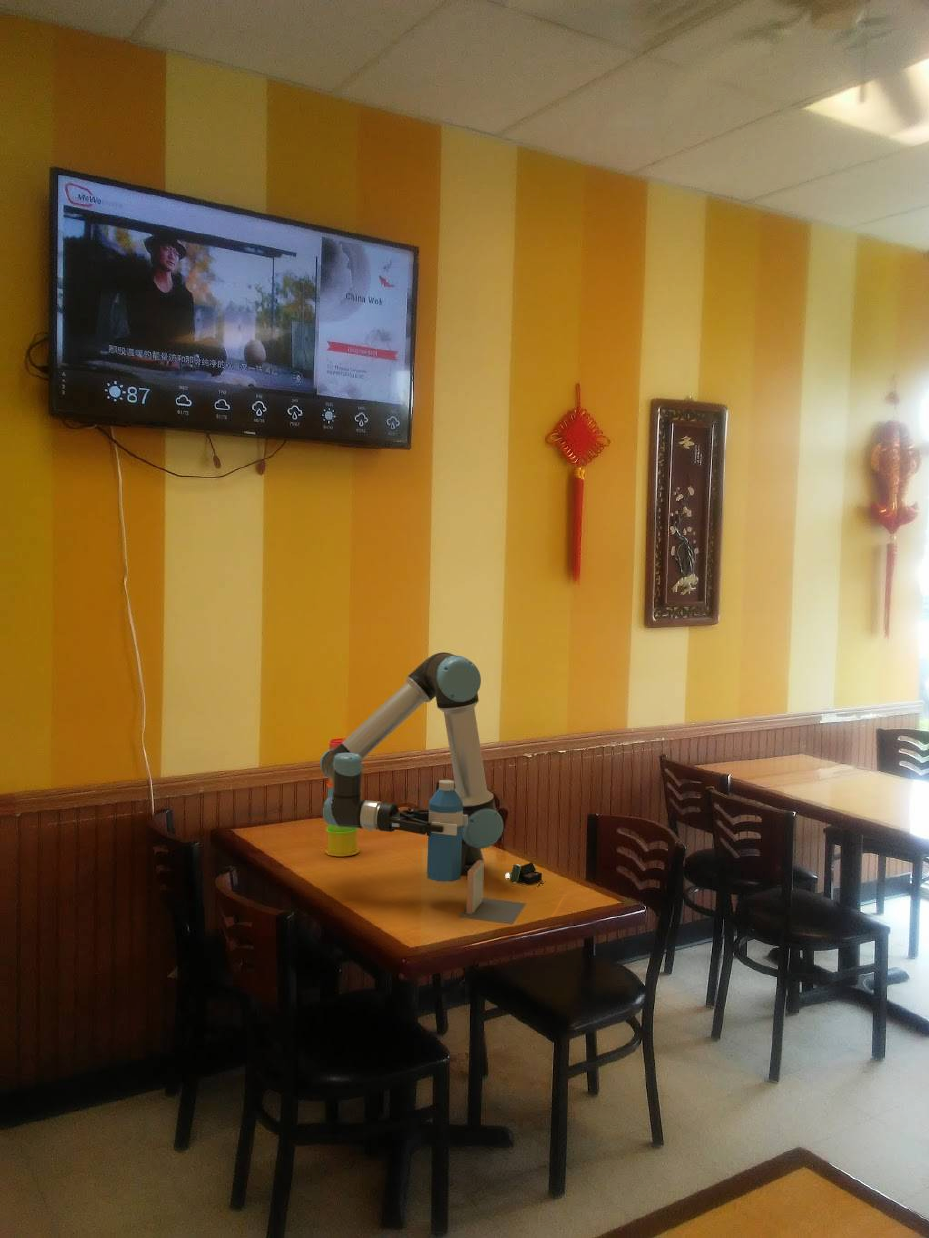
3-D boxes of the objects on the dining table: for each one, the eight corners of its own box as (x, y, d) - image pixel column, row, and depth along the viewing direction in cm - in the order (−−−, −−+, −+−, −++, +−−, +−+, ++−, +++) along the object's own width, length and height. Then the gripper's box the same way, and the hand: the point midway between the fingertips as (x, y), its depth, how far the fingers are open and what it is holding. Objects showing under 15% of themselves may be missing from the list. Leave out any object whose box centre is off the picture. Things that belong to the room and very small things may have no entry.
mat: (474, 899, 273) (475, 896, 273) (526, 905, 269) (526, 903, 269) (458, 919, 258) (458, 916, 258) (512, 926, 254) (512, 923, 254)
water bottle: (420, 879, 264) (423, 783, 262) (433, 868, 273) (435, 776, 271) (454, 883, 261) (457, 787, 259) (466, 873, 270) (469, 779, 268)
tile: (476, 901, 270) (478, 860, 269) (483, 901, 269) (484, 860, 269) (466, 913, 260) (467, 871, 260) (472, 914, 260) (474, 871, 259)
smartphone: (522, 870, 301) (522, 852, 301) (564, 881, 292) (565, 863, 291) (490, 882, 289) (491, 863, 289) (533, 894, 280) (534, 874, 280)
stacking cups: (328, 858, 305) (331, 743, 303) (322, 848, 315) (325, 737, 312) (362, 856, 308) (365, 742, 306) (355, 846, 318) (358, 736, 316)
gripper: (394, 820, 281) (472, 828, 275) (364, 841, 260) (449, 850, 254) (395, 793, 281) (473, 801, 275) (365, 812, 260) (450, 821, 254)
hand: (461, 824), depth 264 cm, fingers closed on water bottle, 9 cm apart
